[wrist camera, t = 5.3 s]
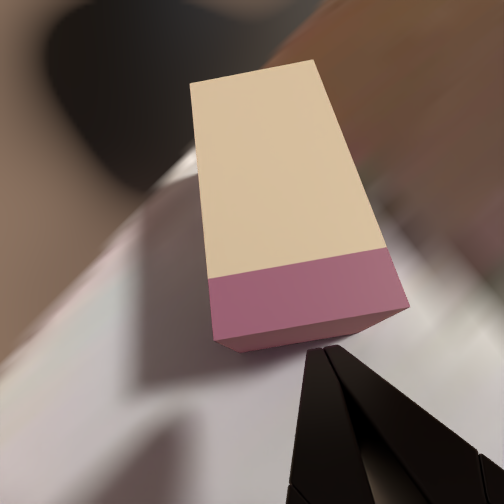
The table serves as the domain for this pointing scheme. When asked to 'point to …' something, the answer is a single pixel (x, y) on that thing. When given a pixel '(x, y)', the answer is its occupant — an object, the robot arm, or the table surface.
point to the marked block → (285, 214)
